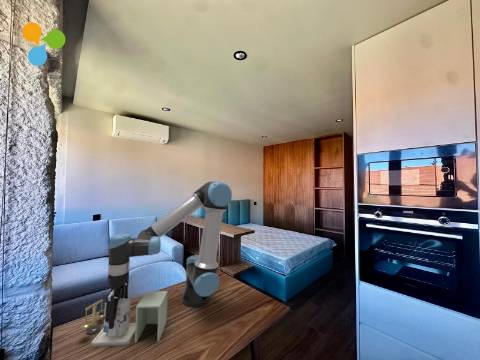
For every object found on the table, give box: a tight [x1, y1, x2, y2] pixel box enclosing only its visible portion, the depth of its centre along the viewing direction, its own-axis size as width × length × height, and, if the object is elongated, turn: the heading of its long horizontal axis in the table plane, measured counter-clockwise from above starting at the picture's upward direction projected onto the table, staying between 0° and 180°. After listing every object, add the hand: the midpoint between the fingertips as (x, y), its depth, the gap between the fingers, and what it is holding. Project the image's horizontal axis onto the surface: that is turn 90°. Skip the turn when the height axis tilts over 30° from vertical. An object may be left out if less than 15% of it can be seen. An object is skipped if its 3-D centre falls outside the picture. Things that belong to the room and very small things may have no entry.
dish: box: [90, 322, 135, 348], centre depth 83 cm, size 14×10×1 cm
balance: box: [79, 299, 105, 336], centre depth 86 cm, size 14×5×12 cm, turn 5°
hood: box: [134, 290, 169, 344], centre depth 86 cm, size 9×11×14 cm
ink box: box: [102, 297, 131, 336], centre depth 83 cm, size 9×5×12 cm, turn 79°
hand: (116, 329), depth 83 cm, fingers closed on ink box, 6 cm apart
